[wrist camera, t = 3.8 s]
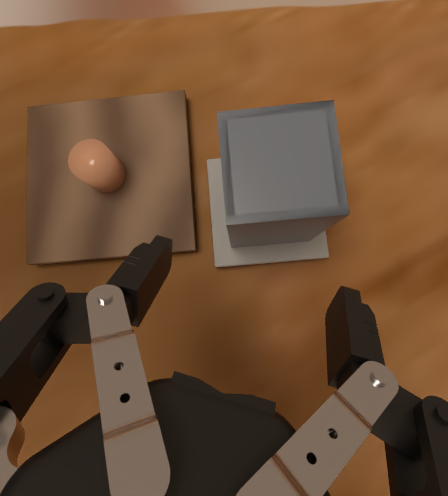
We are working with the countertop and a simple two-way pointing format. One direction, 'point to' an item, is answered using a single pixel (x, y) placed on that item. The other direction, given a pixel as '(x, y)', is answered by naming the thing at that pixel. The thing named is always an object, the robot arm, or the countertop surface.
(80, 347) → the countertop surface
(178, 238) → the walnut board
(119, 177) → the pink rounded lump
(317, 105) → the grey upright block
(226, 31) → the countertop surface
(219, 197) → the rubber mat
